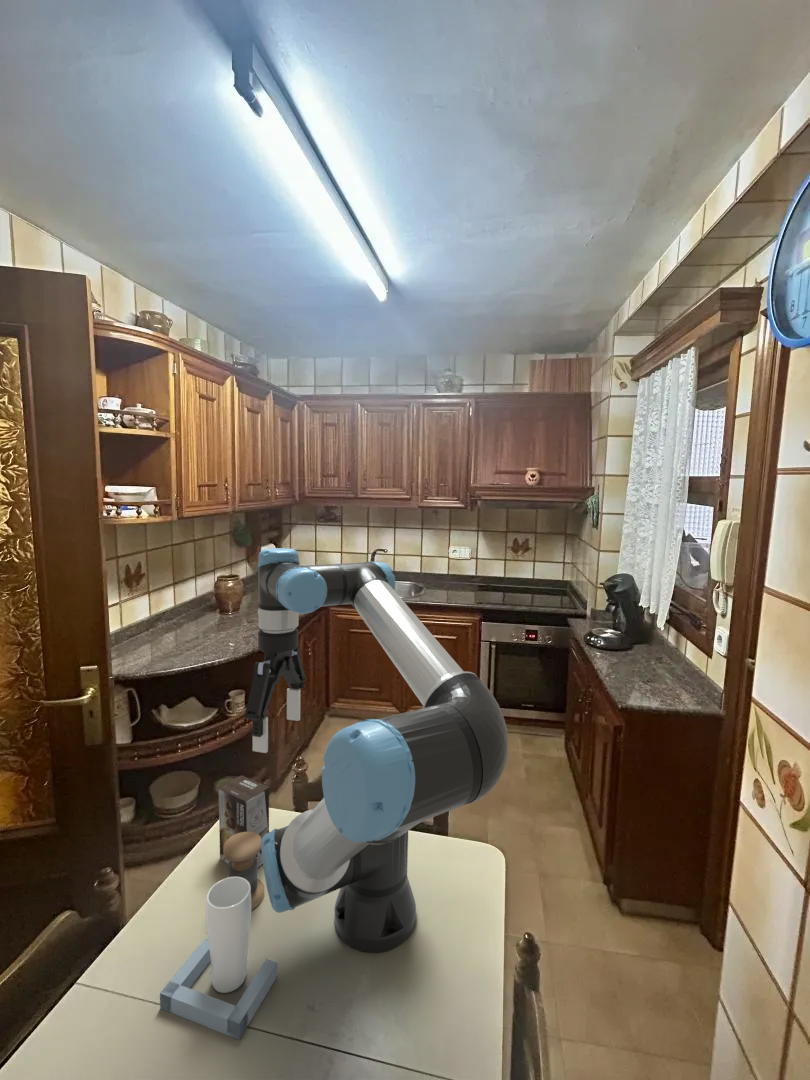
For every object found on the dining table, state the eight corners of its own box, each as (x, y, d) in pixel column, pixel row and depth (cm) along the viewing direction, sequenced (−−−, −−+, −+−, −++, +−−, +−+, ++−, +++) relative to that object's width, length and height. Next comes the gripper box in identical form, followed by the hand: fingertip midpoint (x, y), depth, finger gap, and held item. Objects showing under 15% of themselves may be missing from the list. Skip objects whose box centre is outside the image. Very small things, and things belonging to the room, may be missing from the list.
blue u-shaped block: (277, 976, 80) (277, 962, 80) (239, 1039, 71) (239, 1023, 71) (205, 951, 85) (205, 938, 84) (160, 1008, 75) (160, 993, 75)
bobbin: (272, 887, 99) (272, 835, 98) (248, 919, 91) (248, 862, 90) (238, 877, 101) (237, 826, 100) (211, 907, 94) (211, 852, 93)
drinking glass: (206, 1006, 76) (205, 913, 74) (207, 966, 82) (206, 881, 81) (252, 992, 78) (252, 902, 77) (250, 954, 84) (250, 871, 83)
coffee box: (270, 858, 107) (270, 786, 106) (246, 877, 101) (246, 801, 100) (242, 842, 112) (242, 773, 111) (218, 859, 106) (217, 787, 105)
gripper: (289, 612, 109) (289, 706, 110) (223, 644, 84) (224, 763, 86) (321, 615, 107) (320, 710, 109) (263, 648, 83) (263, 770, 84)
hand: (278, 734), depth 97 cm, fingers open, 13 cm apart
